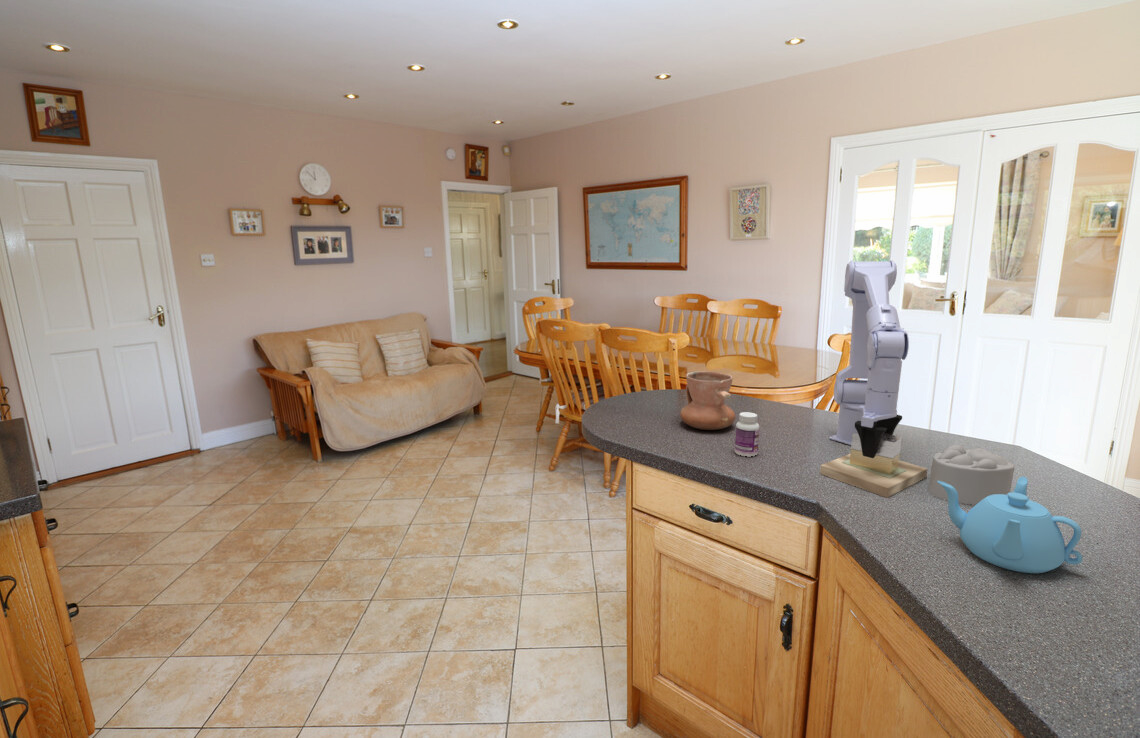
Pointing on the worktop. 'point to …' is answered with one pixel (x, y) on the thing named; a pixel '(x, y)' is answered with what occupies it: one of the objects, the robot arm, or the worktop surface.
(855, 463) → the block
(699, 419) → the ceramic jug
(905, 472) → the birch stand
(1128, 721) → the worktop surface
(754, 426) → the pill bottle
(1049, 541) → the teapot
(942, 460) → the lumpy-topped squat cylinder
